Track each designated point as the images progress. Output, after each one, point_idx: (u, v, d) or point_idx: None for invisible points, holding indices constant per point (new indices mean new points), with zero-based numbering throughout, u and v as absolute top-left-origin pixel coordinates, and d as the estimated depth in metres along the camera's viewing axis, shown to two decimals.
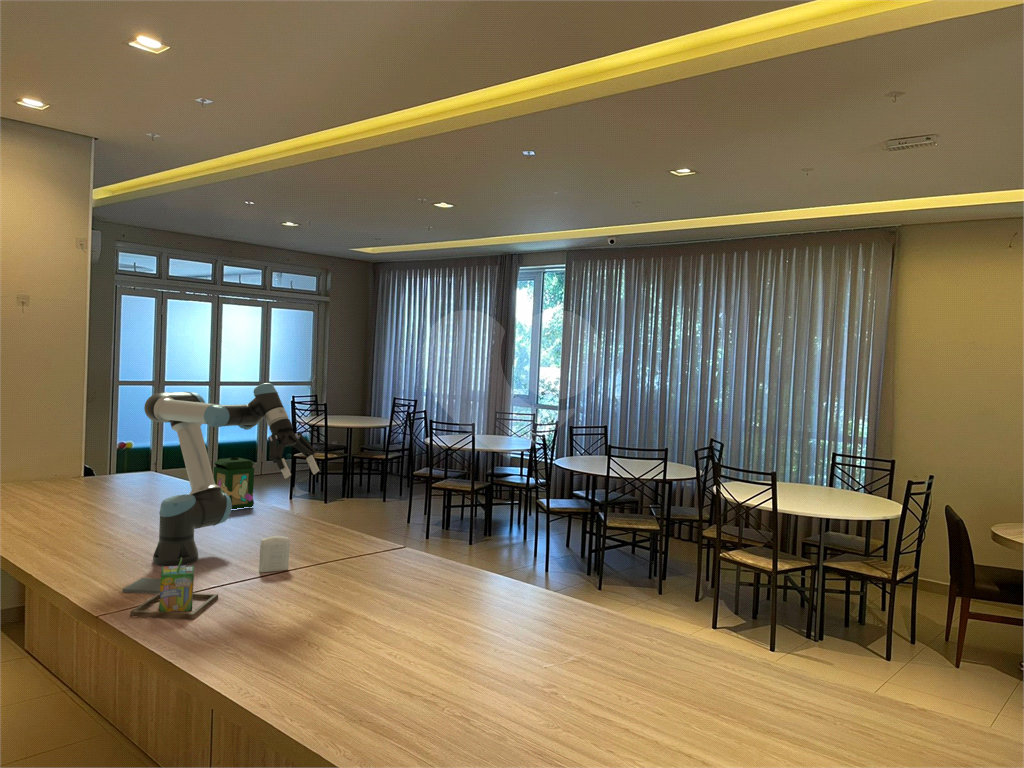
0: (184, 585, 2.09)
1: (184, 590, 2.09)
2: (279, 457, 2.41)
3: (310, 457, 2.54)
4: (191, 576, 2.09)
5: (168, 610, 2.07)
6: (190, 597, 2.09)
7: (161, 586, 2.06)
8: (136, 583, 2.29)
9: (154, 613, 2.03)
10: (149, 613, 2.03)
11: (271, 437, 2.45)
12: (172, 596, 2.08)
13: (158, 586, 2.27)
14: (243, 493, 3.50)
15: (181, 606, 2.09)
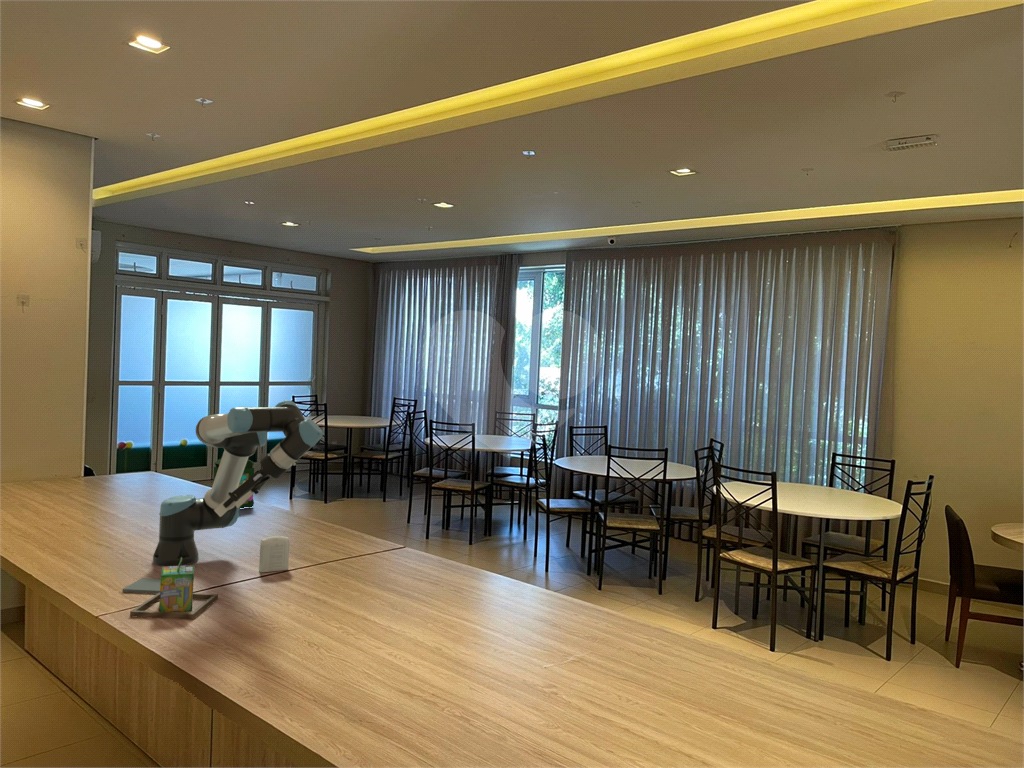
0: (184, 585, 2.09)
1: (184, 590, 2.09)
2: (236, 500, 2.04)
3: (250, 493, 2.18)
4: (191, 576, 2.09)
5: (168, 610, 2.07)
6: (190, 597, 2.09)
7: (161, 586, 2.06)
8: (136, 583, 2.29)
9: (154, 613, 2.03)
10: (149, 613, 2.03)
11: (257, 479, 2.05)
12: (172, 596, 2.08)
13: (158, 586, 2.27)
14: None
15: (181, 606, 2.09)
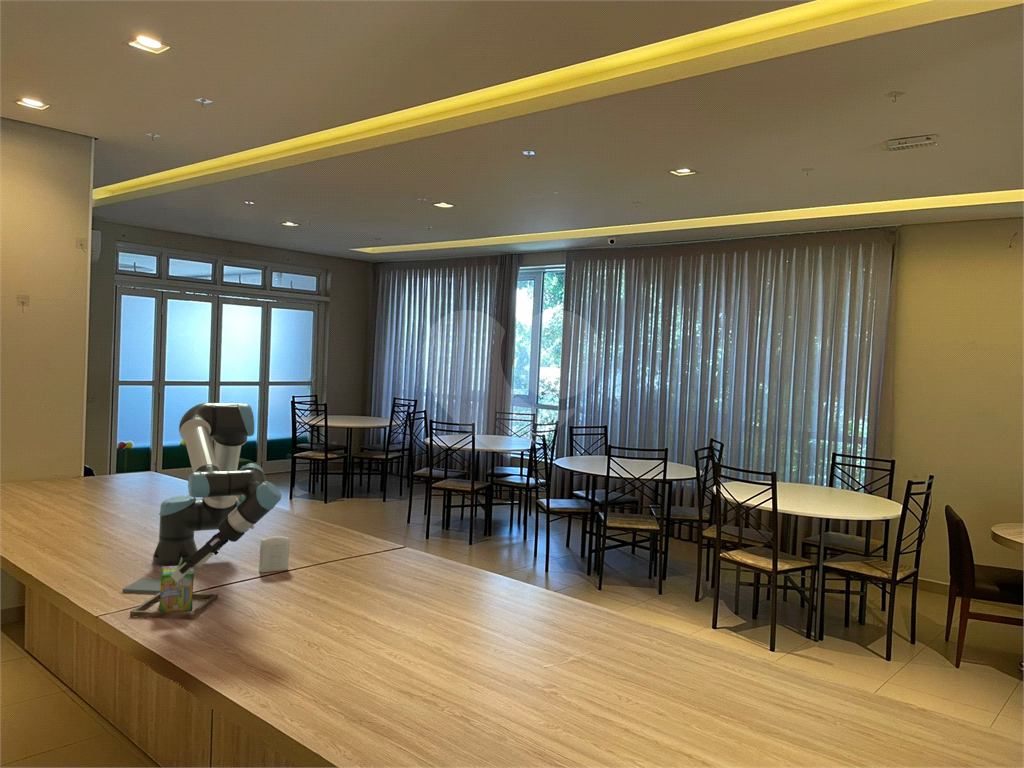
0: (185, 585, 2.09)
1: (184, 590, 2.09)
2: (193, 566, 2.03)
3: (209, 555, 2.18)
4: (191, 576, 2.09)
5: (168, 610, 2.07)
6: (190, 597, 2.10)
7: (161, 586, 2.06)
8: (136, 583, 2.29)
9: (154, 613, 2.03)
10: (149, 613, 2.03)
11: (214, 544, 2.04)
12: (173, 596, 2.08)
13: (158, 586, 2.27)
14: None
15: (181, 606, 2.09)
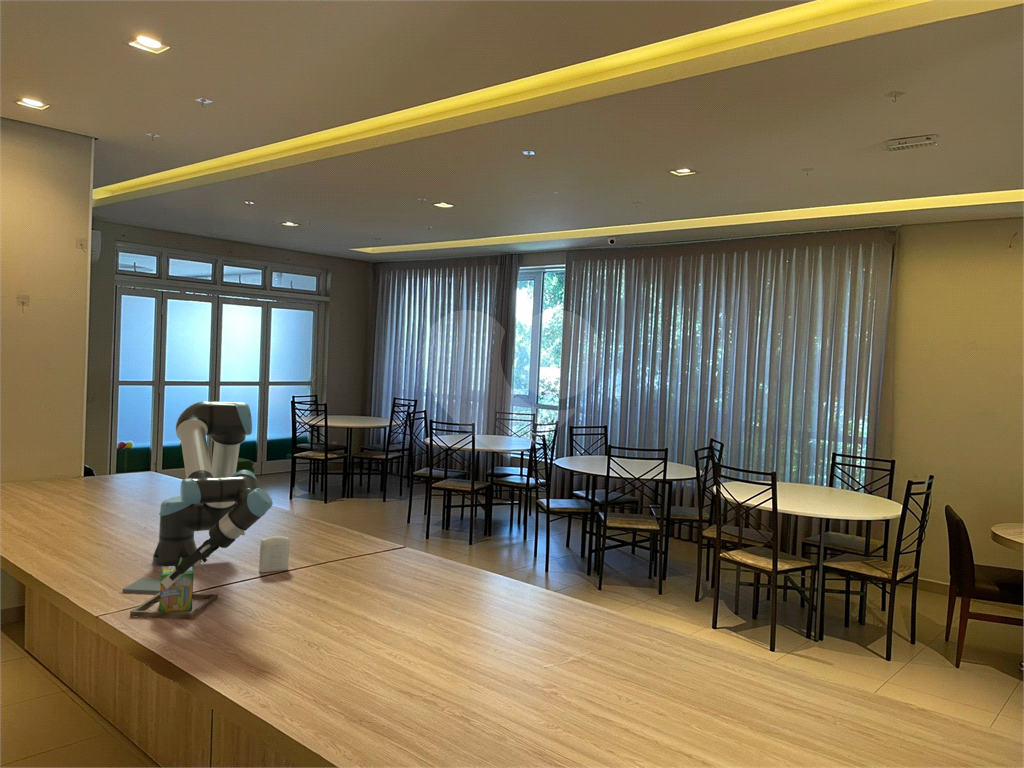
0: (184, 584, 2.09)
1: (184, 590, 2.09)
2: (183, 573, 2.05)
3: (198, 562, 2.18)
4: (191, 576, 2.09)
5: (168, 610, 2.07)
6: (190, 597, 2.10)
7: (161, 586, 2.06)
8: (136, 583, 2.29)
9: (154, 613, 2.03)
10: (149, 613, 2.03)
11: (203, 551, 2.05)
12: (173, 596, 2.08)
13: (158, 586, 2.27)
14: None
15: (181, 606, 2.09)
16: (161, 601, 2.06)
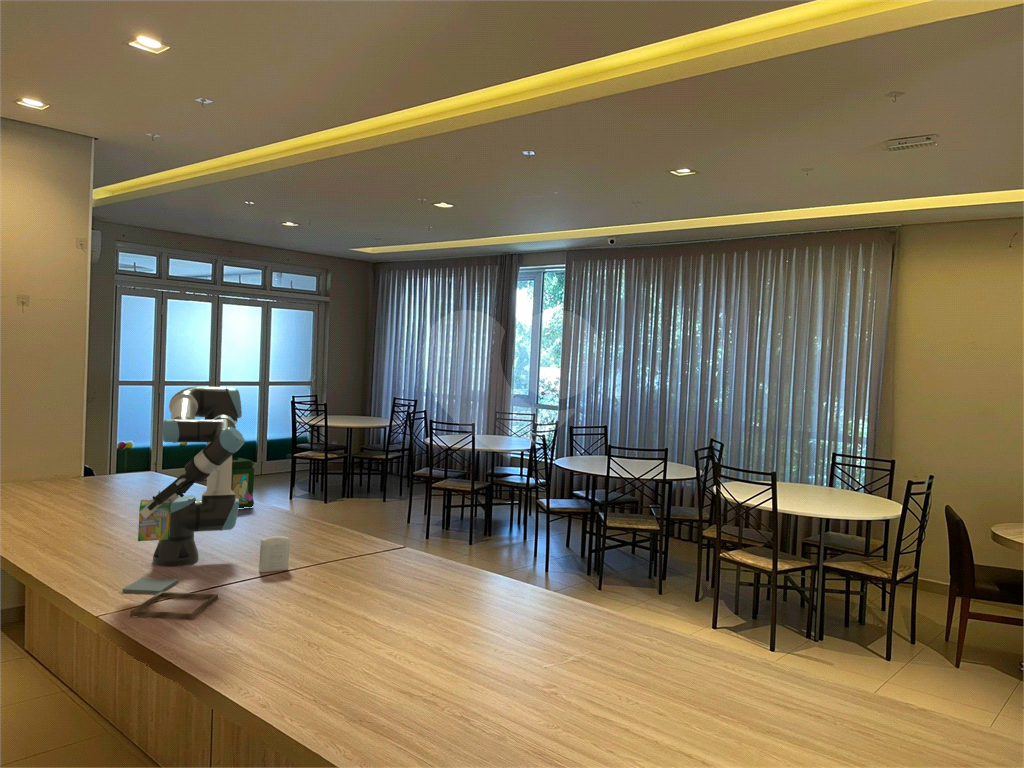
0: (162, 515, 2.24)
1: (162, 521, 2.24)
2: (160, 503, 2.20)
3: (175, 497, 2.33)
4: (168, 507, 2.24)
5: (146, 538, 2.23)
6: (167, 527, 2.25)
7: (140, 516, 2.21)
8: (136, 583, 2.29)
9: (154, 613, 2.03)
10: (149, 613, 2.03)
11: (179, 483, 2.20)
12: (151, 525, 2.23)
13: (158, 586, 2.27)
14: (243, 493, 3.50)
15: (159, 535, 2.24)
16: (140, 530, 2.22)
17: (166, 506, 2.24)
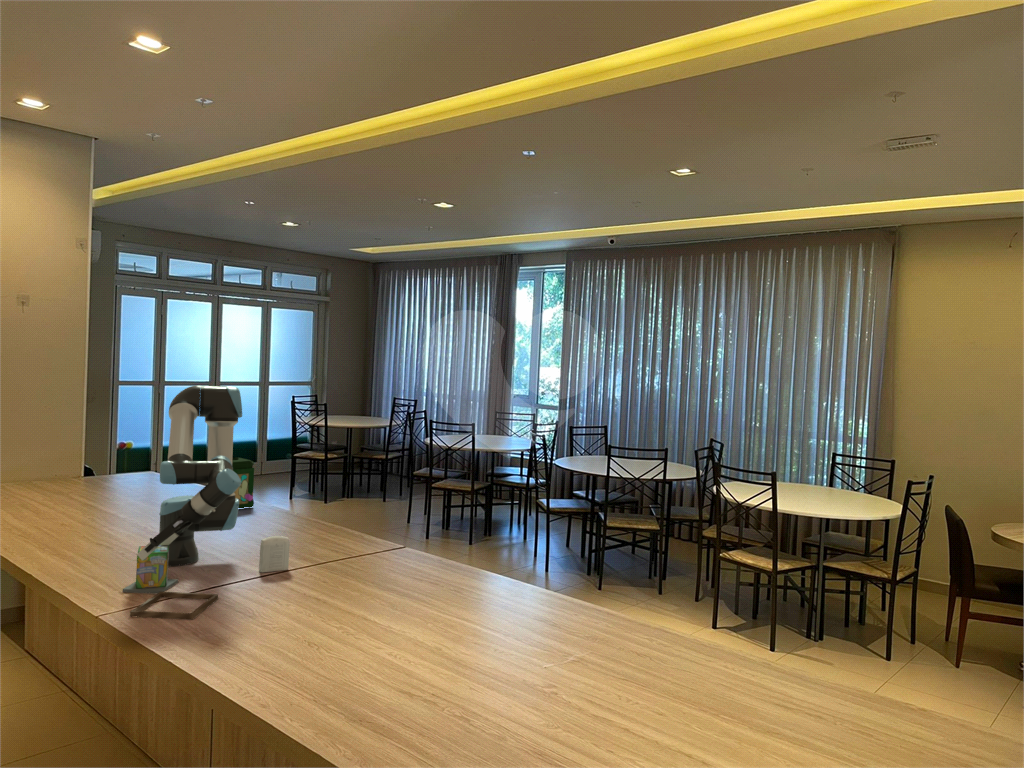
0: (159, 562, 2.26)
1: (159, 567, 2.26)
2: (157, 545, 2.21)
3: (175, 536, 2.35)
4: (165, 554, 2.26)
5: (144, 586, 2.24)
6: (165, 574, 2.27)
7: (137, 563, 2.23)
8: None
9: (154, 613, 2.03)
10: (149, 613, 2.03)
11: (176, 525, 2.22)
12: (148, 572, 2.25)
13: None
14: (243, 493, 3.50)
15: (156, 582, 2.26)
16: (137, 577, 2.23)
17: (163, 553, 2.26)
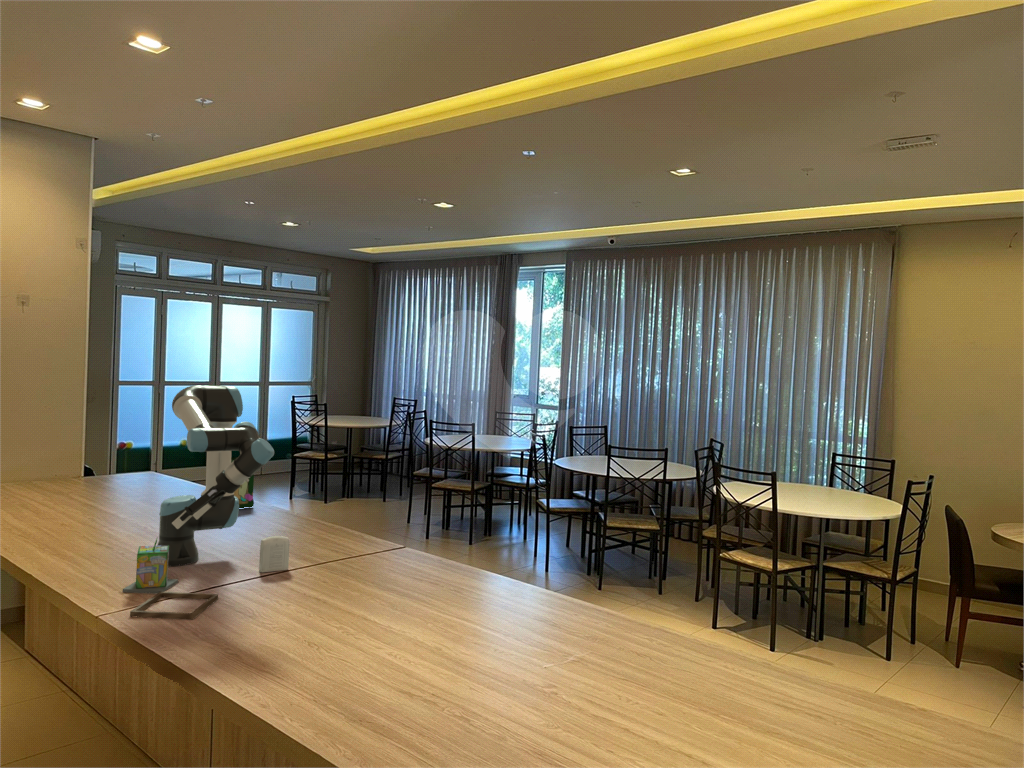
0: (159, 562, 2.26)
1: (159, 567, 2.26)
2: (192, 514, 2.21)
3: (208, 506, 2.35)
4: (165, 554, 2.26)
5: (144, 586, 2.24)
6: (165, 574, 2.27)
7: (137, 563, 2.23)
8: None
9: (154, 613, 2.03)
10: (149, 613, 2.03)
11: (211, 494, 2.22)
12: (148, 572, 2.25)
13: None
14: (243, 493, 3.50)
15: (156, 582, 2.26)
16: (137, 577, 2.23)
17: (163, 553, 2.26)
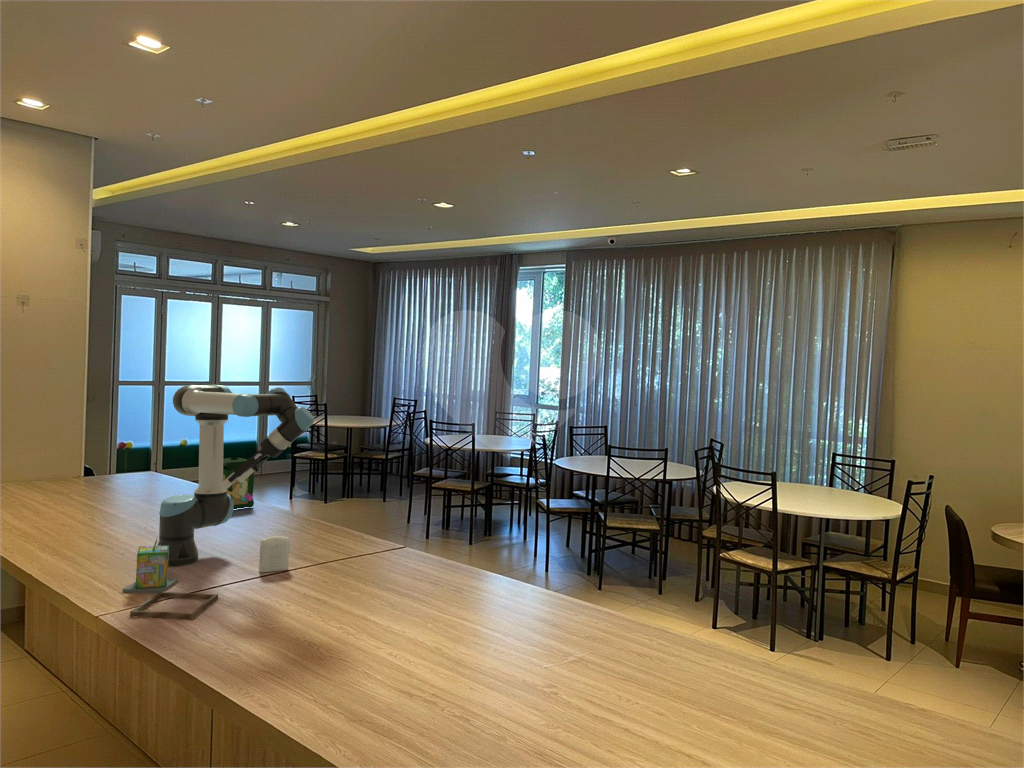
0: (159, 562, 2.26)
1: (159, 567, 2.26)
2: (239, 476, 2.38)
3: (251, 471, 2.53)
4: (165, 554, 2.26)
5: (144, 586, 2.24)
6: (164, 574, 2.27)
7: (137, 563, 2.23)
8: None
9: (154, 613, 2.03)
10: (149, 613, 2.03)
11: (257, 457, 2.39)
12: (148, 572, 2.25)
13: None
14: (243, 493, 3.50)
15: (156, 582, 2.26)
16: (137, 577, 2.23)
17: (163, 553, 2.26)
